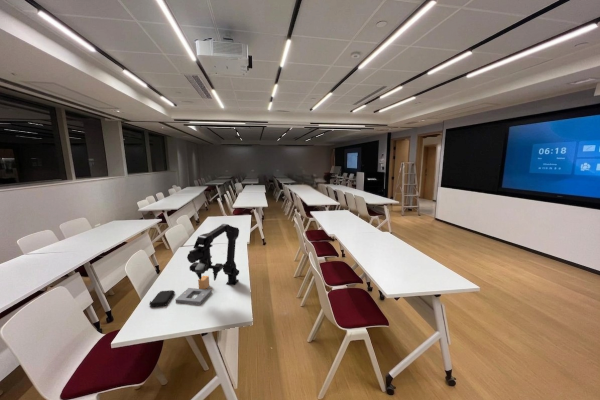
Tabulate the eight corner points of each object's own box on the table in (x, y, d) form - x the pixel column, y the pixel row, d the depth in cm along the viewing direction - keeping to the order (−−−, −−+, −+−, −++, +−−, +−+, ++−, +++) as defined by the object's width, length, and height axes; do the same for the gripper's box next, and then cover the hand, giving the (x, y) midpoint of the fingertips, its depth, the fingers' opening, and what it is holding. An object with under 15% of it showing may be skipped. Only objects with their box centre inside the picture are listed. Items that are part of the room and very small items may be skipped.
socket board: (188, 290, 155) (188, 287, 154) (211, 292, 152) (211, 289, 152) (175, 302, 142) (175, 299, 142) (200, 304, 140) (199, 301, 139)
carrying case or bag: (158, 294, 151) (146, 308, 137) (157, 290, 150) (146, 304, 136) (175, 293, 152) (166, 307, 138) (175, 288, 152) (165, 302, 137)
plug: (203, 285, 161) (203, 275, 160) (209, 285, 161) (208, 276, 160) (198, 289, 156) (198, 280, 154) (204, 290, 155) (203, 280, 154)
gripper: (182, 261, 133) (185, 286, 136) (213, 262, 131) (216, 288, 134) (193, 253, 144) (196, 276, 147) (222, 254, 142) (224, 278, 145)
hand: (207, 279), depth 143 cm, fingers open, 9 cm apart
